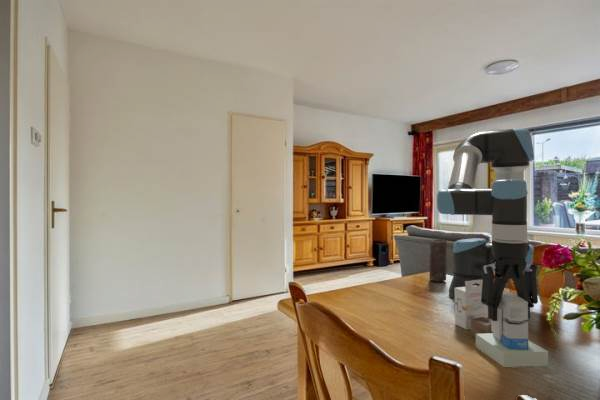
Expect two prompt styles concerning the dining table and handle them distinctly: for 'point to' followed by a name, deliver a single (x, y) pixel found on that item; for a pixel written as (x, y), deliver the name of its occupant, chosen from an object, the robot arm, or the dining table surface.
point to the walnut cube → (480, 326)
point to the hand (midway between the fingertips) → (509, 332)
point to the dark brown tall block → (438, 260)
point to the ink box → (514, 322)
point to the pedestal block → (511, 352)
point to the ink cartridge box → (469, 304)
